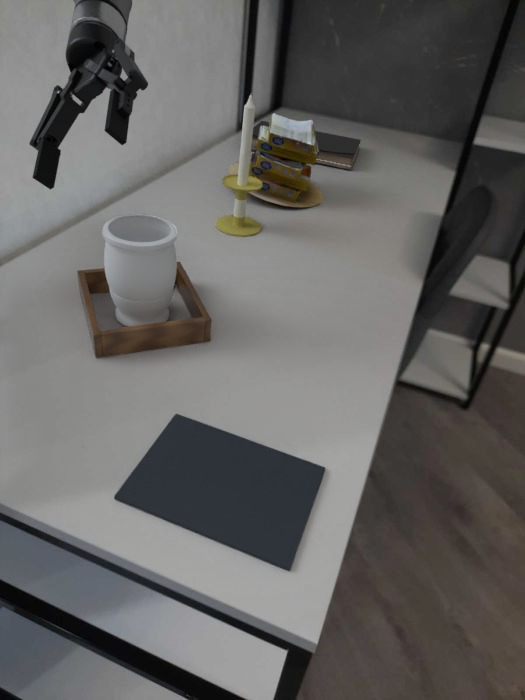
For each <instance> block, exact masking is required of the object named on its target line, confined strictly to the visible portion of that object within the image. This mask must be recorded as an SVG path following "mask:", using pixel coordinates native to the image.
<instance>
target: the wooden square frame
mask: <svg viewBox="0 0 525 700" xmlns="http://www.w3.org/2000/svg"><path fill="white" fill-rule="evenodd" d="M76 273H77V280H78V289H79V290H78V291H79V295H80V299H81V302H82V303H81V304H82V307H83V312H84V316H85V319H86V322H87V328H88V331H89V335H90V340H91V344H92V348H93V352H94V356H95V358H102V357H103V358H104V357H111V356H116V355H122V354H130V353H136V352H143V351H144V352H145V351H149V350H156V349H163V348H170V347H171V348H172V347H177V346H184V345H191V344H198V343H206V342H210V341H211V335H212V324H213V323H212V322H213V320H212V317H211V316H210V314H209V312H208V311H207V308H206V306H205V304H204V303H203V301H202V299H201V297H200V296H199V294H198V292H197V290H196V288H195V286H194V284H193V282H192V281H191V279H190V277H189V275H188V273H187V271H186V270H185V268H184V266H183V265H182V262H181V261H177V272H176V279H175V284H174V286H175V287H176V289H177V290H178V292H179V294H180V296H181V299H182V300H183V303H184V305H185V307H186V308H187V310H188V312H189V314H190V316H191V318H186V319H185V318H184V319H178V320H177V319H176V320H171V321H166V322H161V323H153V324H146V325H138V326H130V327H127V326H124V327H123V326H122V327H115V328H108V329H107V328H106V329H101V328H100V325H99V322H98V318H97V315H96V311H95V307H94V303H93V300H92V296H91V294H99V293H108V292H109V293H110V290H109V285H108V282H107V279H106V274H105V268H104V267H102V268H91V269H79V270H76Z"/></svg>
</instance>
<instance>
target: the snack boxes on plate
mask: <svg viewBox="0 0 525 700" xmlns="http://www.w3.org/2000/svg"><path fill="white" fill-rule="evenodd" d="M267 122H268V123H269V122H270V125H269V127H267V126H263V125H261V126H260V129H259V134H258V140H257V142H256V143H257V146H255V147H254V148H255V151H252V152H251V155H250V165H249V175H248V176H252V177H254V178H257V179H259V180H260V181H261V182H262V183H263V187H262V188H261V189H260V190H257V191H250V192H248V193H247V194H250V195H251V196H254V197H256V198H259V199H261V200H264V201H266V202H268V203H273V204H276V205H280V206H284V207H291V208H311V207H314V206H317V205H319V204H321V202H322V201H323V199H324V193H323V192H322V190H321V188H320V187H319V186H317V184H316V183H315V182H313V181H312V180H311V176H312V166H315V165H316V163H315V162H316V159H317V157H318V155H319V150H318V146H317V141H316V139H315V131H316V130H315V129H316V128H315V125H314V120H313V119H309V120H298V119H295V118H291V117H287V116H283V115H279V114H277V113H275V112H274V113H272V114H271V115H270V118H269V119H268V121H267ZM238 170H239V161H237V162H234V163H232V164H230V166H229V167H228V168H227V174H228V175H236V174H238Z"/></svg>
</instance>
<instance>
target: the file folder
mask: <svg viewBox="0 0 525 700" xmlns="http://www.w3.org/2000/svg"><path fill="white" fill-rule="evenodd" d="M261 125H263V126H267V127H269V125H270V122H269V123H268V121H266V120H260V121H259V122H258V123H257V124H256V125H255V126H253V135H252V145H251V152H253V151H254V152H255V148H254V147H255V146H257V143H256V142H257V140H258V134H259V129H260V126H261ZM315 139H316V141H317V146H318V150H319V155H318V157H317V159H321V160H327V161H332V162H336V163H340V164H345V165H350V166H352V167H348V166H343V165H338V164H334V163H330V162H325V161H320V160H316V162H315V165H316V164H317V165H320V166H321V165H322V166H327V167H332V168H337V169H341V170H345V171H346V170H347V171H351V170H352V168H353V165H354V163H355V160H356V157H357V155H358V153H359V149H360V146H359V144H360V145H361V141H362V140H361V139H359V138H355V137H349V136H343V135H339V134H334V133H328V132H323V131H318V130H315ZM358 147H359V148H358ZM357 150H358V151H357ZM356 153H357V154H356ZM355 155H356V156H355ZM354 158H355V159H354ZM353 160H354V161H353Z"/></svg>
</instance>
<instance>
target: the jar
mask: <svg viewBox="0 0 525 700" xmlns="http://www.w3.org/2000/svg"><path fill="white" fill-rule="evenodd" d="M101 235H102V237H103V239H104V240H105V244H104V251H103V268H105V274H106V279H107V282H108V285H109V290H110V291H109V294H110V296H111V300H112V302H113V304H114V306H115V310H114V317H115V319H116V320H117V321H118V322H119V323H120V324H121V325H123V326H124V327H130V326H138V325H146V324H153V323H161V322H168V320H169V318H170V310H169V308H168V307H169V306H170V303H171V302H172V301H171V300H172V299H173V298H172V297H173V293H174V288H175V285H176V284H175V279H176V272H177V262H178V259H177V250H176V246H175V242H176V241H177V238H178V229H177V227H176V225H175V224H174V223H172V222H171V221H169V220H168V219H165V218H163V217H159V216H156V215H151V214H145V213H130V214H128V213H127V214H123V215H117V216H114V217H112V218H110V219H108V220H107V221H105V222H104V223H103V224H102V227H101ZM174 284H175V285H174Z"/></svg>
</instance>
